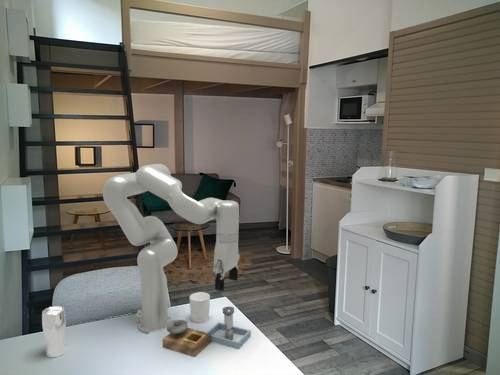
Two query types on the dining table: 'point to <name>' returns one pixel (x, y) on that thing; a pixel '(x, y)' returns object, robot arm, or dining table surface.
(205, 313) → the white cup
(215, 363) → the dining table surface
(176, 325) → the block
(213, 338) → the tray
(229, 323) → the lock pin
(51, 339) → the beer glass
